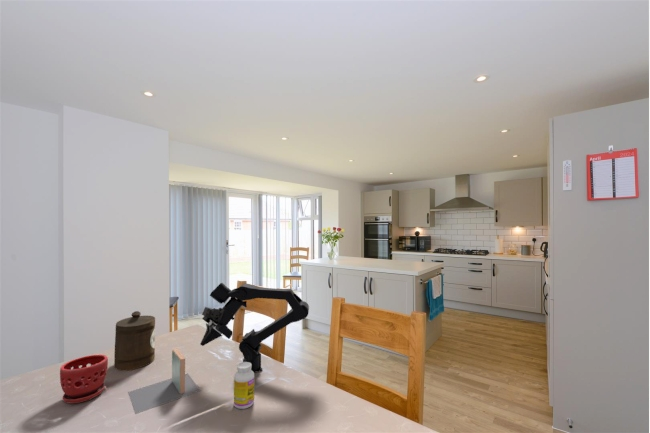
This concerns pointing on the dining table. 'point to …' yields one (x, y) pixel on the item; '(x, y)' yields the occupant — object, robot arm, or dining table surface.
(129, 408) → the dining table surface
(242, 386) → the supplement bottle
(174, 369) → the tile
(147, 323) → the wooden container
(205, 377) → the dining table surface
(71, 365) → the plant pot
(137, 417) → the dining table surface
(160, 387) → the mat
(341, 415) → the dining table surface
